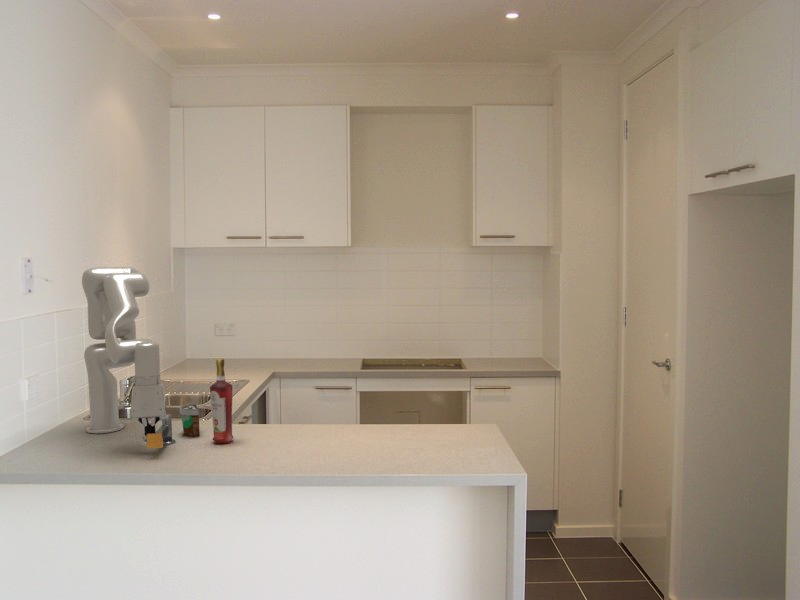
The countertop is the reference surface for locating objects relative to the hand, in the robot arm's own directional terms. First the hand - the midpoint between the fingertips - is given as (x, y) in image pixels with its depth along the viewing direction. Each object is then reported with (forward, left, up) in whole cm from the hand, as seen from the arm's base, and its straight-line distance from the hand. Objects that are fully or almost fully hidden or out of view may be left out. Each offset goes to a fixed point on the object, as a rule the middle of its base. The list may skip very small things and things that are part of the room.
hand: (150, 437), depth 222 cm
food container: (-17, +14, -5) cm, 23 cm away
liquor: (-1, +23, -5) cm, 24 cm away
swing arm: (+1, +3, -2) cm, 3 cm away
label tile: (-18, +2, -5) cm, 19 cm away
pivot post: (-9, +6, -5) cm, 12 cm away
